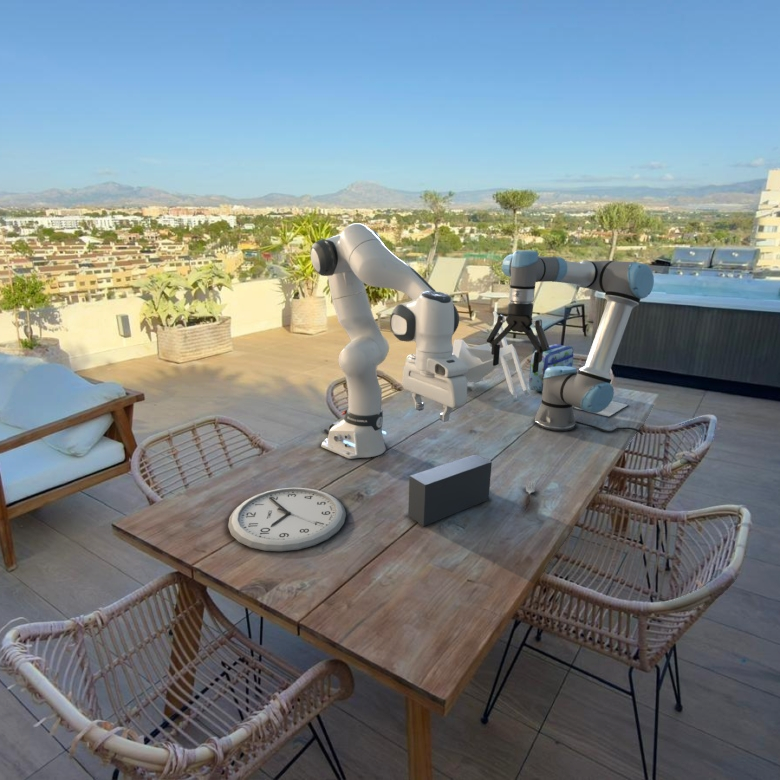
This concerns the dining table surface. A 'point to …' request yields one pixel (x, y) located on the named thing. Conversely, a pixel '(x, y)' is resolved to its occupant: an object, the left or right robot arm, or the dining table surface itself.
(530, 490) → the fork
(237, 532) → the wall clock
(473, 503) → the box
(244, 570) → the dining table surface
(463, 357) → the white plastic object
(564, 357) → the lunch box
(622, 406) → the invitation card
